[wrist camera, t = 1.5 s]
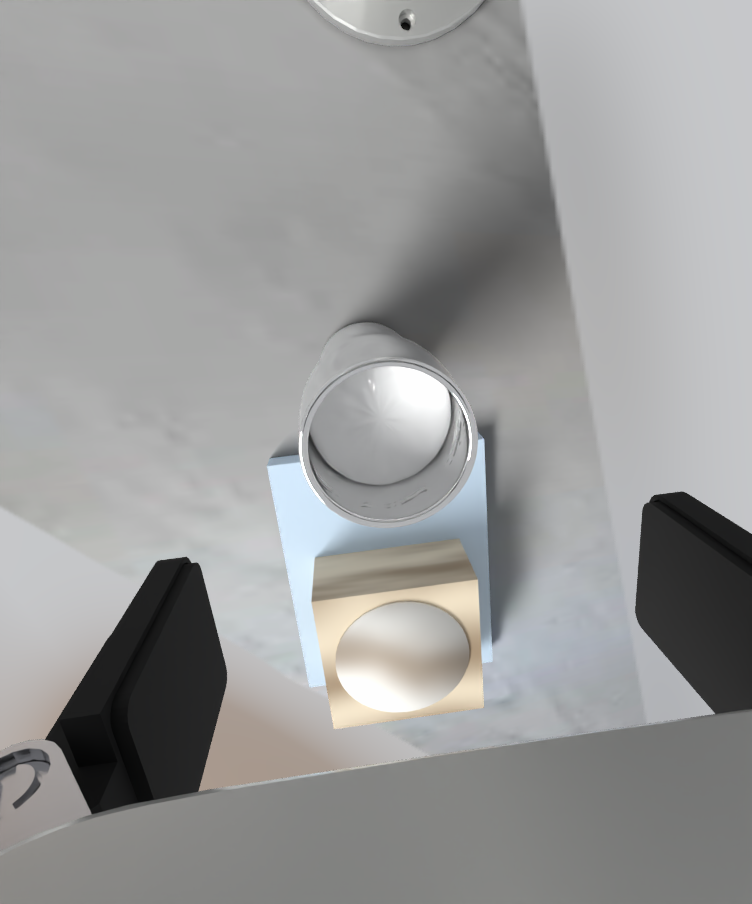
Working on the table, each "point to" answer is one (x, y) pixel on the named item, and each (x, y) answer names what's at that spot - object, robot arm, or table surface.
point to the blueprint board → (370, 542)
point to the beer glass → (384, 429)
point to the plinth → (398, 632)
